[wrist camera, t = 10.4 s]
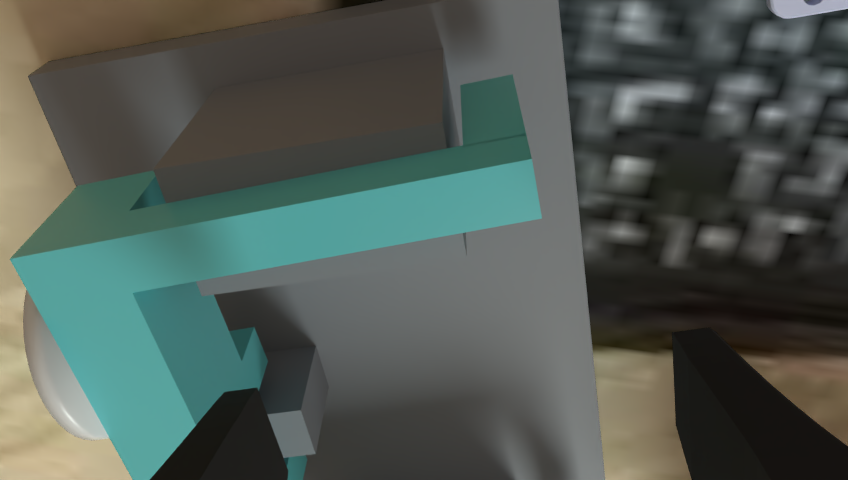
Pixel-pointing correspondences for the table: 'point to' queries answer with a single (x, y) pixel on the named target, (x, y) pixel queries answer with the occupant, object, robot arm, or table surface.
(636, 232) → the table surface
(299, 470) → the teal angled bar frame
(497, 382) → the display stand
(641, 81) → the table surface
